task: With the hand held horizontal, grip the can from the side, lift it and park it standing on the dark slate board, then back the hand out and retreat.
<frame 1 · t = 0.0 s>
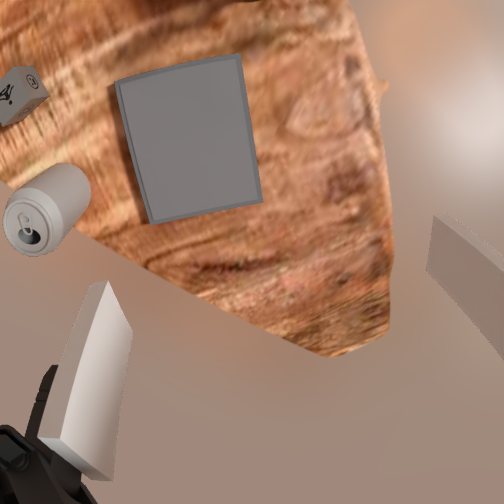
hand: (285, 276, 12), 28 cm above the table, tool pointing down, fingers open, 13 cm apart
can: (67, 188, 36), on the table
slate board: (190, 139, 35), on the table
dice cube: (28, 93, 29), on the table
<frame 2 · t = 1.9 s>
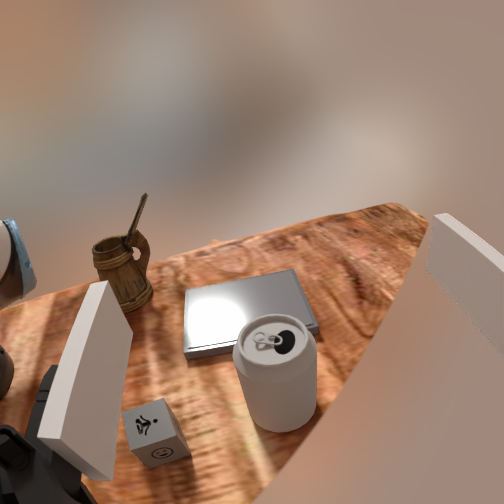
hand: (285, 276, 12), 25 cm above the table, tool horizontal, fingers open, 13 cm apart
can: (282, 408, 33), on the table
slate board: (246, 314, 47), on the table
dice cube: (165, 445, 30), on the table
wooden mug: (141, 296, 55), on the table
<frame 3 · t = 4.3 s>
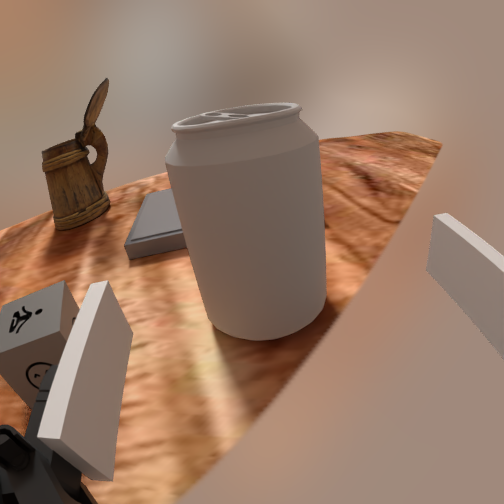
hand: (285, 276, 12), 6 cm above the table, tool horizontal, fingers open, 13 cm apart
can: (267, 309, 20), on the table
slate board: (219, 210, 35), on the table
dice cube: (68, 377, 17), on the table
wooden mug: (96, 212, 43), on the table
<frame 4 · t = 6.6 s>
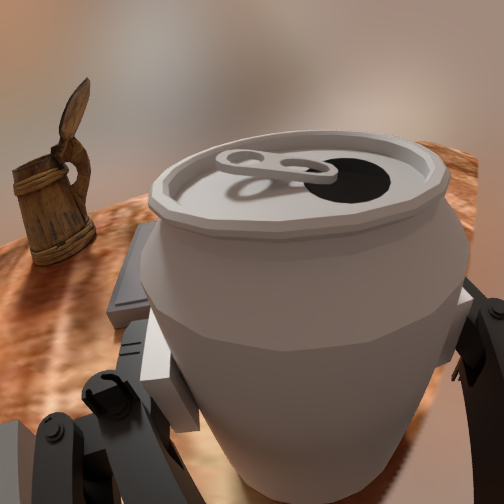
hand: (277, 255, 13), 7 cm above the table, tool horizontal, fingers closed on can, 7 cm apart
can: (312, 436, 13), on the table, touching gripper
slate board: (232, 253, 27), on the table
wooden mug: (79, 243, 35), on the table
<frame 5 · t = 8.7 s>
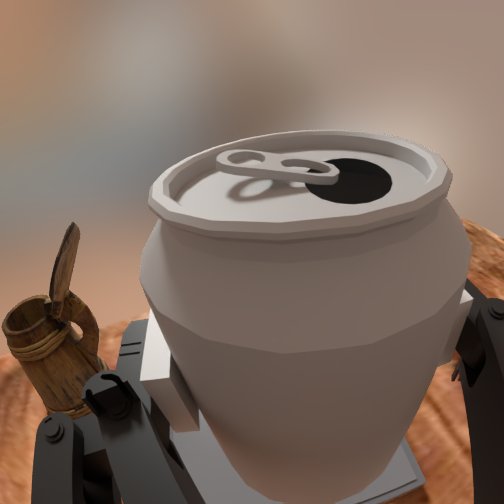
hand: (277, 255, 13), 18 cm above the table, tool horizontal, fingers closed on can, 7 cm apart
can: (312, 437, 12), point 11 cm above the table, touching gripper
slate board: (283, 453, 22), on the table
wooden mug: (96, 390, 29), on the table
when the fingers open (9 cm above the table, at t = 11.0 s): can drops 1 cm, resting on slate board.
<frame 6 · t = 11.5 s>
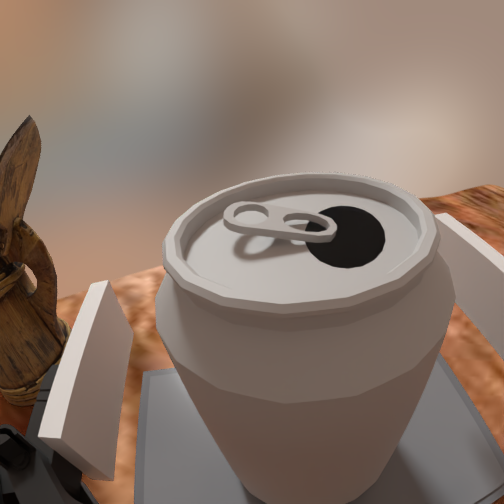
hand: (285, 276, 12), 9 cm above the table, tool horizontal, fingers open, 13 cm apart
can: (311, 448, 13), point 1 cm above the table, touching slate board
slate board: (311, 457, 14), on the table
wooden mug: (59, 365, 22), on the table
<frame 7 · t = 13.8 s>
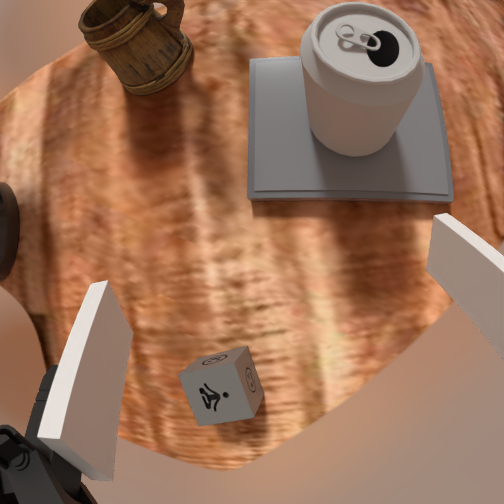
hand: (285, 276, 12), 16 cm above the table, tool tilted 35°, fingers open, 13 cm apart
can: (350, 120, 25), point 1 cm above the table, touching slate board
slate board: (349, 125, 27), on the table
dice cube: (231, 375, 29), on the table
wooden mug: (174, 58, 30), on the table
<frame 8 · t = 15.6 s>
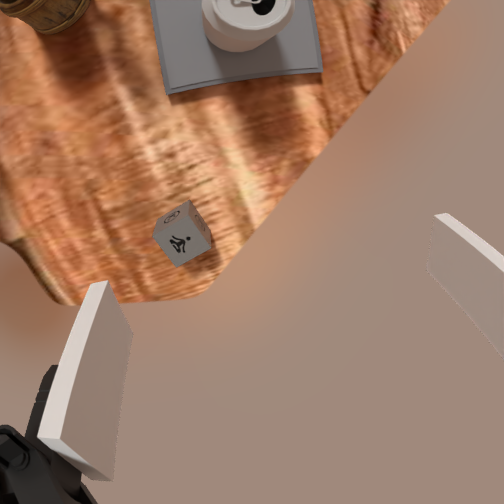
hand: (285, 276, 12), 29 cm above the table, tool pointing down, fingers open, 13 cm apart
can: (236, 23, 28), point 1 cm above the table, touching slate board
slate board: (235, 24, 30), on the table
dice cube: (184, 223, 41), on the table
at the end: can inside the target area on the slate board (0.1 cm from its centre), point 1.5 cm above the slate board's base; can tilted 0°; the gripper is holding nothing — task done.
